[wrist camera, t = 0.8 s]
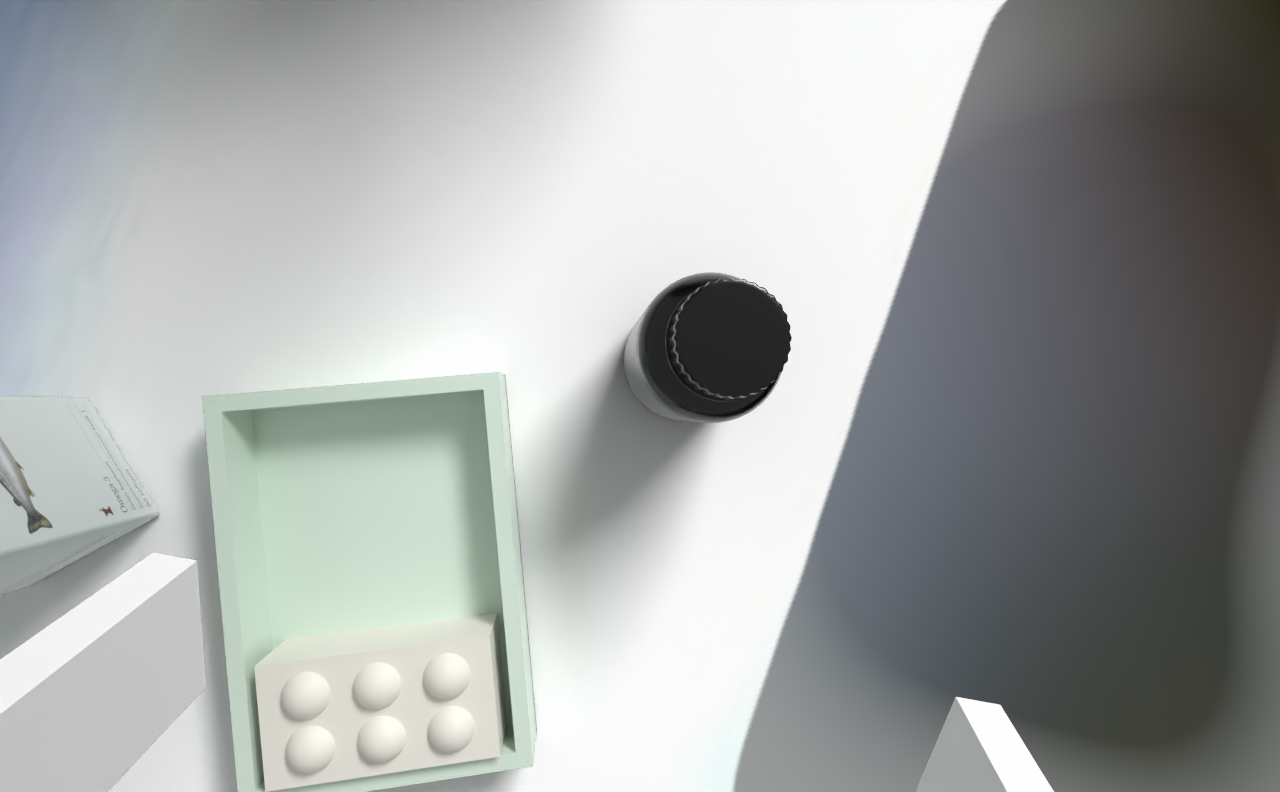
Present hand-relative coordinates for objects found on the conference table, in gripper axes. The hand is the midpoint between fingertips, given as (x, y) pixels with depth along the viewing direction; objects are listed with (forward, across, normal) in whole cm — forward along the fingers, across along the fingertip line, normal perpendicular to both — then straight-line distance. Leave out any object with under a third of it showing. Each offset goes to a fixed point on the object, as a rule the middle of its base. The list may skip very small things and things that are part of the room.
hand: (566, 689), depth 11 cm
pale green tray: (+20, -11, -14) cm, 27 cm away
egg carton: (+18, -10, -19) cm, 28 cm away
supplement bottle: (+27, +2, -1) cm, 27 cm away
